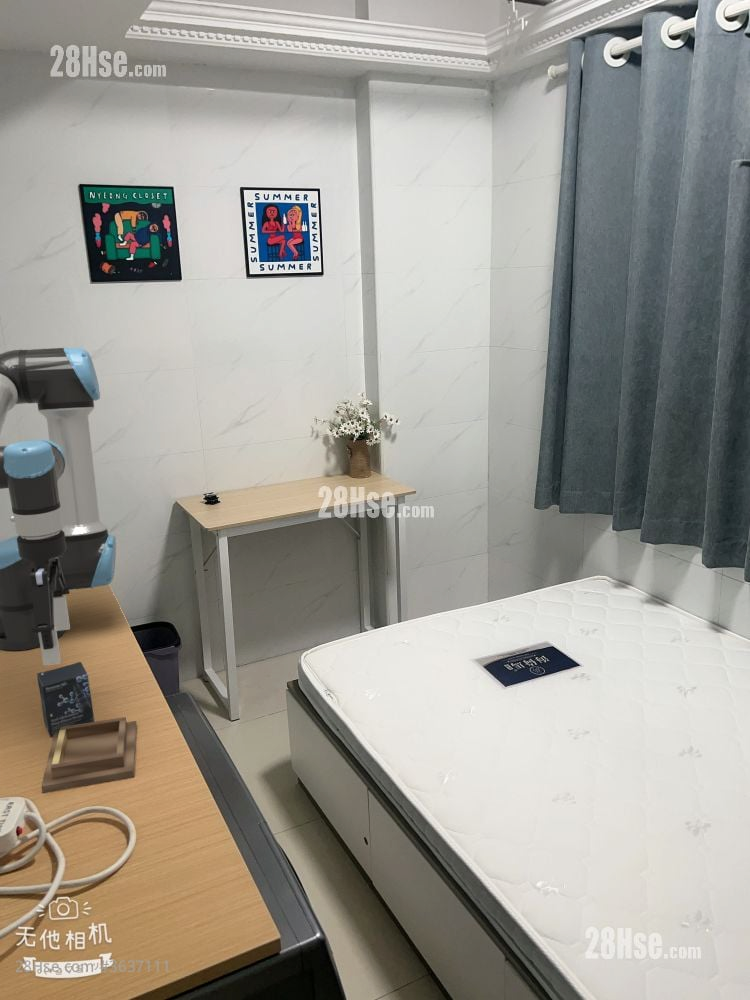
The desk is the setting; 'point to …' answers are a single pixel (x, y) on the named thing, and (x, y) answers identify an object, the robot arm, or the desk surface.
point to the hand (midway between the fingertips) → (57, 645)
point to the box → (65, 697)
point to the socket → (91, 754)
